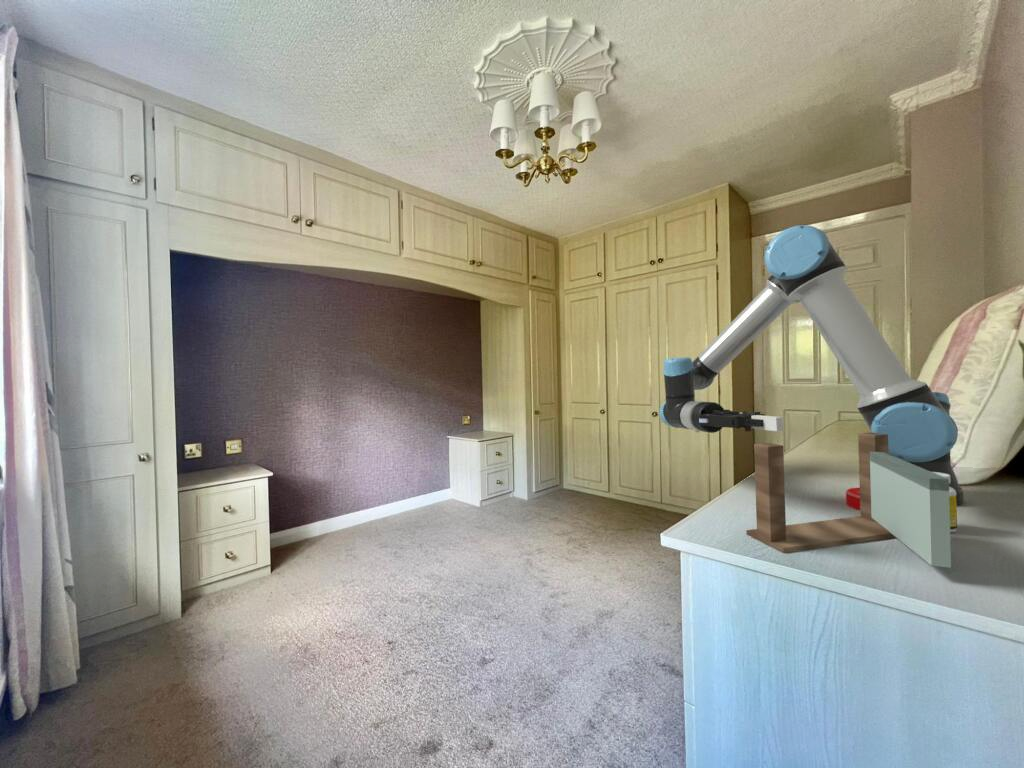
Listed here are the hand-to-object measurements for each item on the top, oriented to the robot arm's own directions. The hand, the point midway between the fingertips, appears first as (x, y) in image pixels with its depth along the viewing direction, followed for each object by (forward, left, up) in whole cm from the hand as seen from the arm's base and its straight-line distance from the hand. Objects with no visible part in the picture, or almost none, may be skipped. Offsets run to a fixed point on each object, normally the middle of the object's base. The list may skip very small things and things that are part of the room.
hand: (779, 424), depth 81 cm
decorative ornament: (-22, -4, -19) cm, 30 cm away
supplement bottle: (-22, +8, -19) cm, 30 cm away
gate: (-9, +16, -17) cm, 25 cm away
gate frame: (-3, +9, -19) cm, 21 cm away
